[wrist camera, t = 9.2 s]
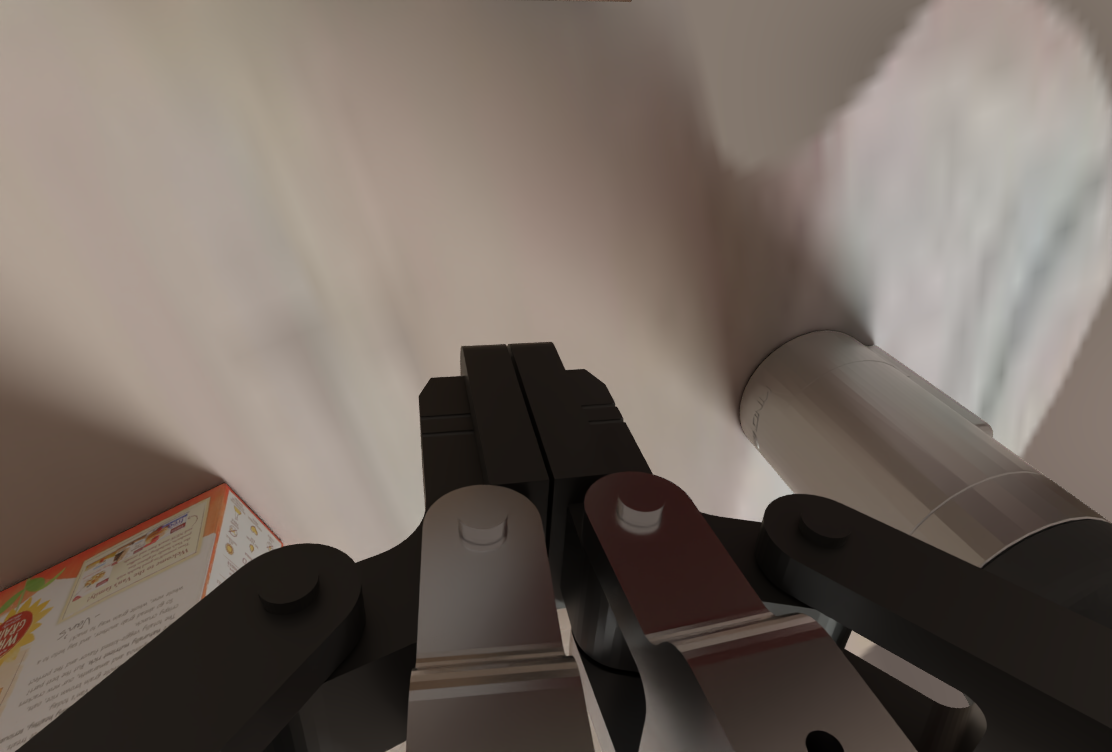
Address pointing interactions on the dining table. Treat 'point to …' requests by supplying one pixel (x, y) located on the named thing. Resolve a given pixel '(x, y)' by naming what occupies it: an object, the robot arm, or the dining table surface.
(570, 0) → the wooden divided tray
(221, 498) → the cracker box
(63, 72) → the dining table surface
